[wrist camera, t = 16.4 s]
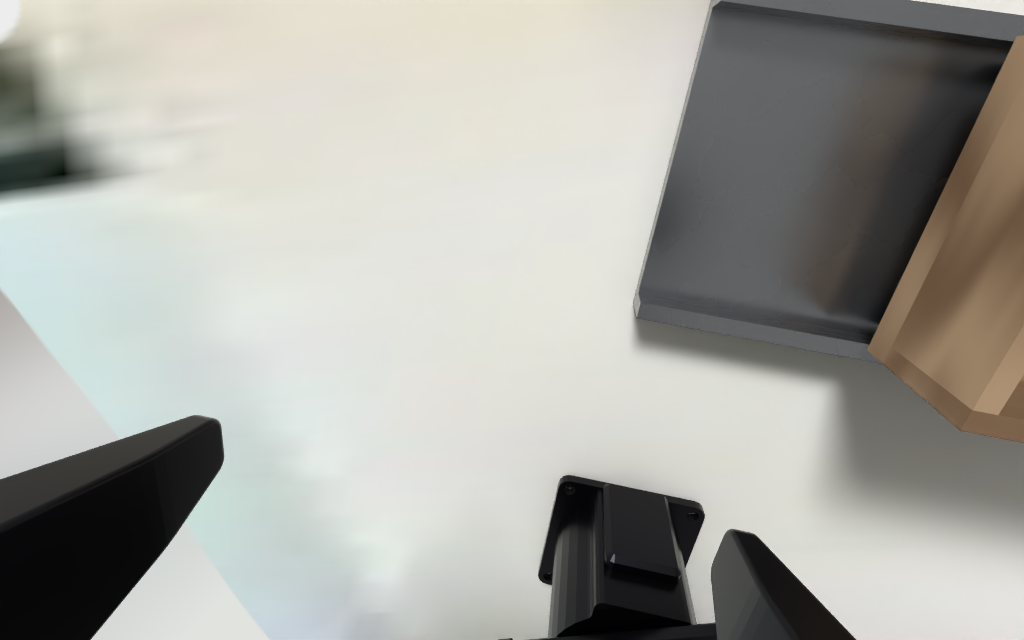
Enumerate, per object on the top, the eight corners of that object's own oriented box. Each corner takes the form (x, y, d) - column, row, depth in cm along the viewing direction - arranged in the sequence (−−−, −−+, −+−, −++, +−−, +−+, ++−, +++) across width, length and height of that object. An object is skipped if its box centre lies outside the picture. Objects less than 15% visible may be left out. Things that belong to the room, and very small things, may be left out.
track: (1220, 410, 18) (1276, 436, 17) (633, 302, 20) (636, 318, 18) (1484, 94, 14) (1590, 92, 12) (714, -12, 15) (727, -25, 14)
